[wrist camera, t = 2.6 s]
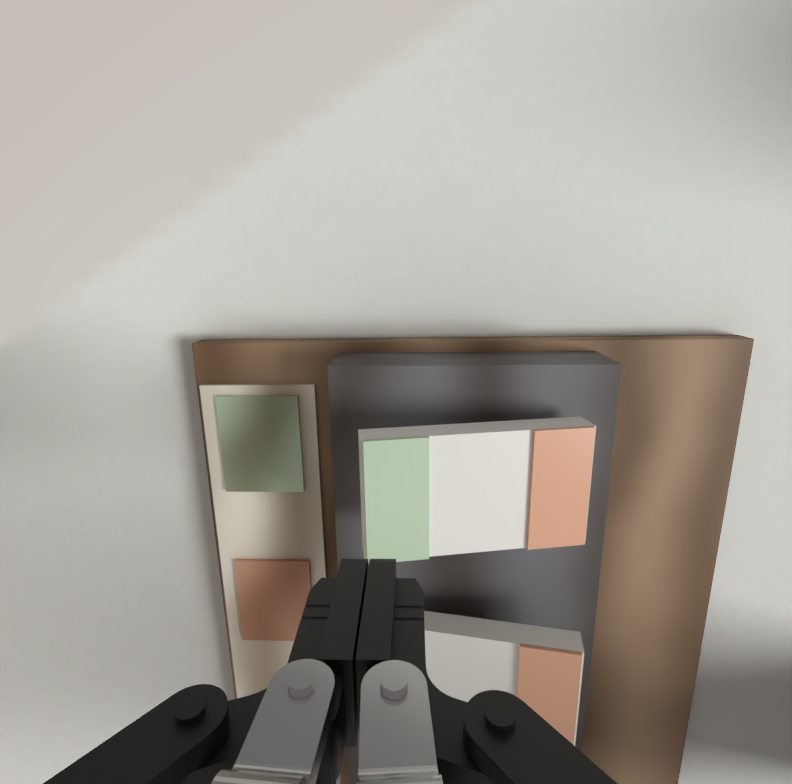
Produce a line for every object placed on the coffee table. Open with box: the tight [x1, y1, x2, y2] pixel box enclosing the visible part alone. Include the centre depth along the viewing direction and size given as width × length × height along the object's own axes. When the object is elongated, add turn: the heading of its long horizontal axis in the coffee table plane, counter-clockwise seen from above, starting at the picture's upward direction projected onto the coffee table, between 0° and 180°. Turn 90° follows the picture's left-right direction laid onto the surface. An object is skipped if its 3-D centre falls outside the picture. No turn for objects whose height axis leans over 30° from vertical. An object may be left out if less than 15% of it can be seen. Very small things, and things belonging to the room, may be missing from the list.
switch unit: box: [192, 335, 754, 784], centre depth 25 cm, size 26×28×5 cm
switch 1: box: [358, 416, 596, 562], centre depth 20 cm, size 9×5×1 cm, turn 91°
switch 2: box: [424, 611, 584, 746], centre depth 22 cm, size 9×5×1 cm, turn 91°
